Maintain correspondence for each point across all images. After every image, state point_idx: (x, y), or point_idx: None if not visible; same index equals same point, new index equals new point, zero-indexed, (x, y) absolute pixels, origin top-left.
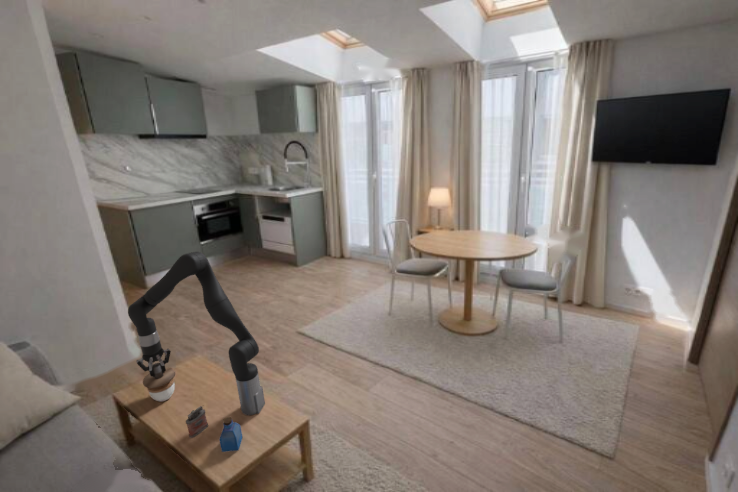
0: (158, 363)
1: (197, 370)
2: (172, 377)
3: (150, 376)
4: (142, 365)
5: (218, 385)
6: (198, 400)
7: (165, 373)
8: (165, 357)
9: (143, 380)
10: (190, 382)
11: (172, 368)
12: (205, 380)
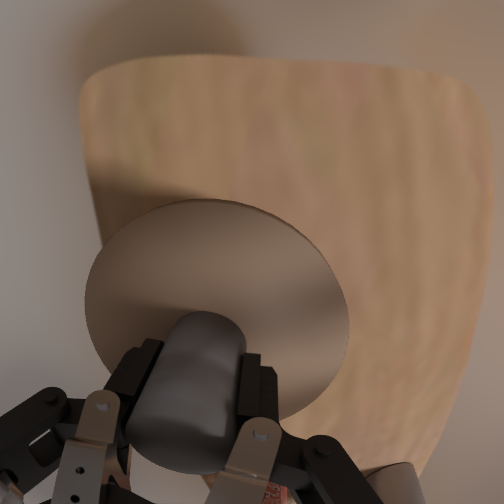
0: (212, 442)
1: (451, 171)
2: (286, 413)
3: (143, 281)
4: (27, 484)
5: (427, 363)
6: (330, 393)
7: (267, 346)
8: (323, 493)
9: (89, 292)
10: (382, 249)
11: (347, 318)
12: (428, 293)
